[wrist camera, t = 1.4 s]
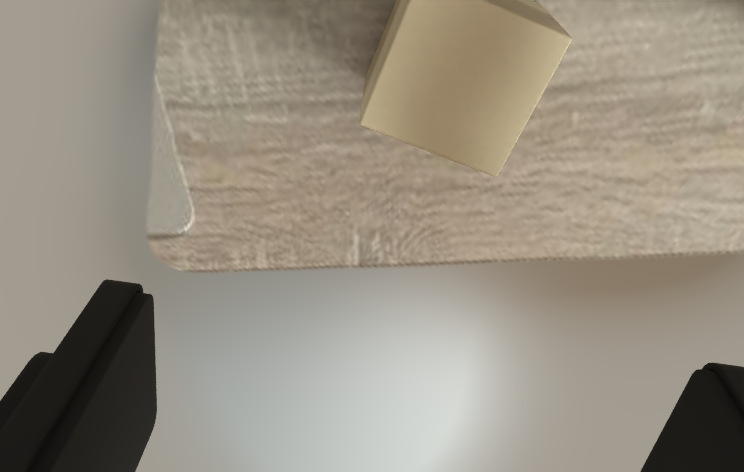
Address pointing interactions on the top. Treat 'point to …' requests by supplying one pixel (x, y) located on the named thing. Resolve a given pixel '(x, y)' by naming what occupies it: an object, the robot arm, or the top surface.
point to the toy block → (462, 76)
